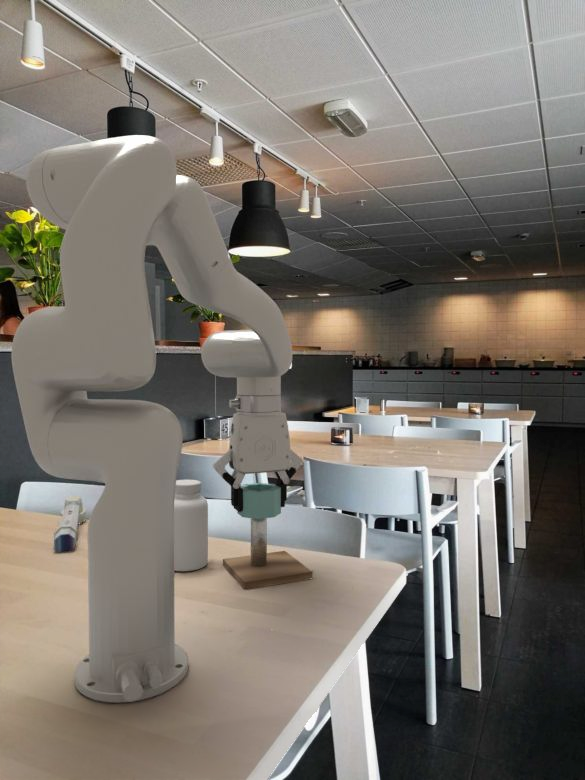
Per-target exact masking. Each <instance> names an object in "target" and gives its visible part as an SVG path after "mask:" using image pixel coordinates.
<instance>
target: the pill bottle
mask: <svg viewBox="0 0 585 780" xmlns="http://www.w3.org/2000/svg"><path fill="white" fill-rule="evenodd" d="M201 491H202V482H201V481H200V480H197V479H176V487H175V499H174V572H192V571H196V570H199V569H202V568H204V567H206V566H207V564H208V561H209V504H208V501H207V499H206V497H204V496H202V495H201Z"/></svg>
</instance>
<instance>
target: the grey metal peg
mask: <svg viewBox="0 0 585 780" xmlns="http://www.w3.org/2000/svg"><path fill="white" fill-rule="evenodd" d="M267 545H268V518H263V519H254V518H250V555H251V565H252V566H254V567H263V566H266V565H267V553H268V546H267Z"/></svg>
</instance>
